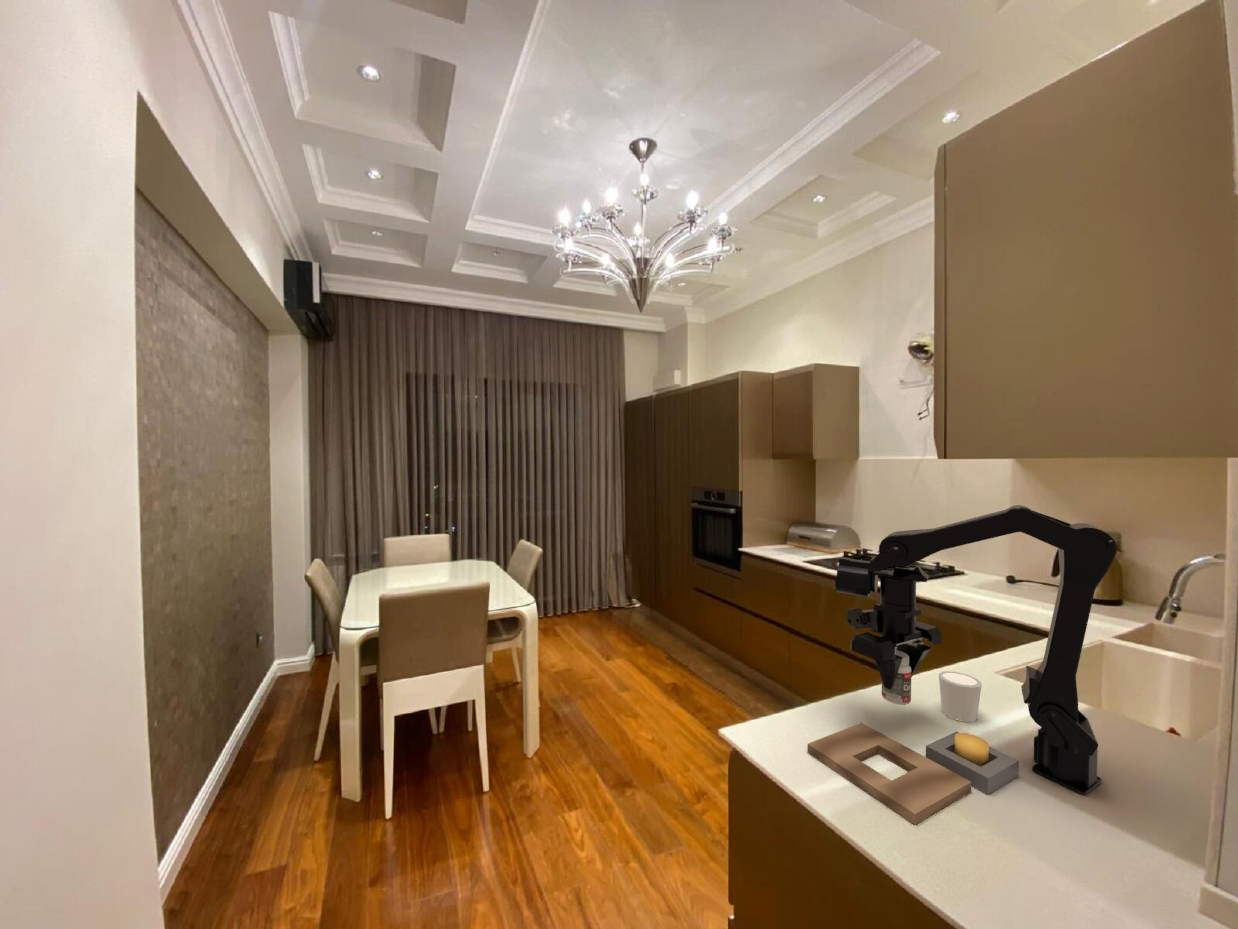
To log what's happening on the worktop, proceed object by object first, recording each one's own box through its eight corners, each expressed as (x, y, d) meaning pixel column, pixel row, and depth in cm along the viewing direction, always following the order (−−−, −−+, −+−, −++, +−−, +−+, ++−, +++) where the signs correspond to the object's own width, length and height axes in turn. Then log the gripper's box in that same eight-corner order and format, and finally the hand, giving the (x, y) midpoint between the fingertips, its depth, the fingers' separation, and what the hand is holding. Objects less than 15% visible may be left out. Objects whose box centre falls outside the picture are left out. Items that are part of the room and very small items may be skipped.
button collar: (1018, 776, 76) (1018, 760, 76) (988, 795, 72) (988, 778, 72) (956, 745, 84) (956, 731, 84) (925, 760, 80) (925, 745, 80)
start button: (994, 759, 77) (994, 744, 77) (979, 768, 75) (979, 752, 75) (963, 745, 81) (964, 730, 81) (948, 752, 79) (949, 737, 79)
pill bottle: (909, 708, 86) (909, 661, 86) (879, 700, 89) (880, 655, 89) (912, 697, 90) (913, 653, 90) (883, 690, 93) (884, 646, 93)
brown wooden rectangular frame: (971, 792, 72) (971, 782, 72) (914, 825, 66) (915, 814, 66) (861, 730, 88) (861, 722, 88) (807, 752, 82) (807, 743, 82)
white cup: (929, 709, 96) (930, 674, 96) (951, 702, 99) (952, 668, 99) (967, 727, 90) (967, 690, 89) (989, 719, 93) (989, 682, 92)
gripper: (887, 584, 101) (886, 659, 101) (825, 596, 92) (824, 678, 92) (944, 598, 91) (943, 681, 91) (881, 613, 82) (880, 705, 83)
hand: (896, 685), depth 90 cm, fingers closed on pill bottle, 5 cm apart
